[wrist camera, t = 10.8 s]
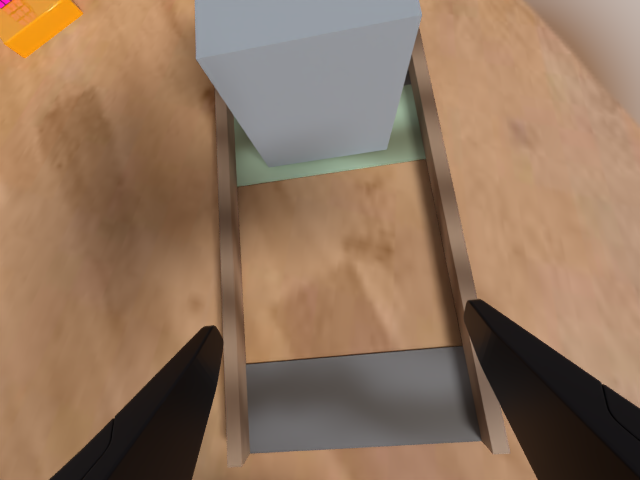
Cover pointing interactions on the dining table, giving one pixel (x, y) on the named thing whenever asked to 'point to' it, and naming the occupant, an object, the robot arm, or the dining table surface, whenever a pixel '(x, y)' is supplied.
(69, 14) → the flat orange slab
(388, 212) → the dining table surface
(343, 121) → the slate block
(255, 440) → the channel
